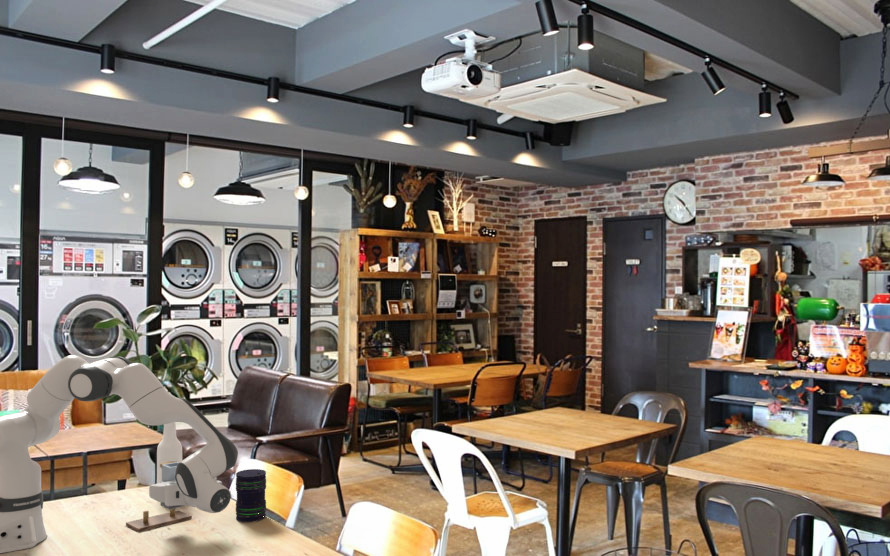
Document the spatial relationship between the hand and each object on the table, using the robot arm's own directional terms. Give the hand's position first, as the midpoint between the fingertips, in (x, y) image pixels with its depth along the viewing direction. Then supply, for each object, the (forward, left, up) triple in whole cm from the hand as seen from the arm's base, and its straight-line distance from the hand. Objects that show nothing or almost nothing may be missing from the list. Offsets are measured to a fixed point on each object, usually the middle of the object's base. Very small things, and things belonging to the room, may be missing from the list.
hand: (172, 481), depth 234 cm
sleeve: (0, -1, -8) cm, 8 cm away
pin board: (+1, +11, -15) cm, 19 cm away
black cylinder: (+24, -7, -16) cm, 30 cm away
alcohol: (+18, +38, -16) cm, 45 cm away
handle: (+12, +26, -16) cm, 32 cm away
